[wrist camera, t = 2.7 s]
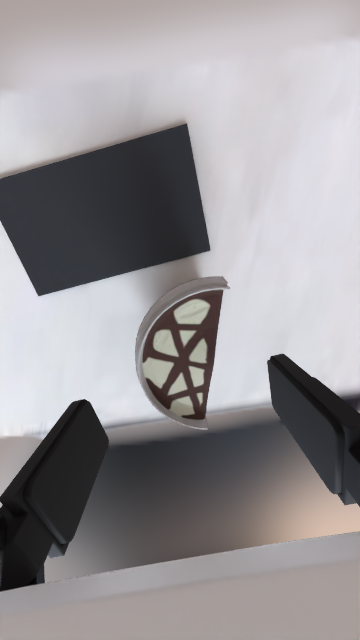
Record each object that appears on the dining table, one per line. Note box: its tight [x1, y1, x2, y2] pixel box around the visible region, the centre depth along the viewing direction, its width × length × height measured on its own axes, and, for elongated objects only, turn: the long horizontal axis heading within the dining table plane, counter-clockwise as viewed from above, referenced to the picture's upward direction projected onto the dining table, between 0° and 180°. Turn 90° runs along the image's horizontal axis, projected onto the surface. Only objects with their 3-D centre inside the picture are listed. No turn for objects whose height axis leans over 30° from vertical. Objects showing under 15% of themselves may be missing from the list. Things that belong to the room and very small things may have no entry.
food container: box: [135, 277, 230, 430], centre depth 17 cm, size 12×6×10 cm, turn 176°
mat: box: [0, 124, 210, 296], centre depth 18 cm, size 20×11×1 cm, turn 104°
